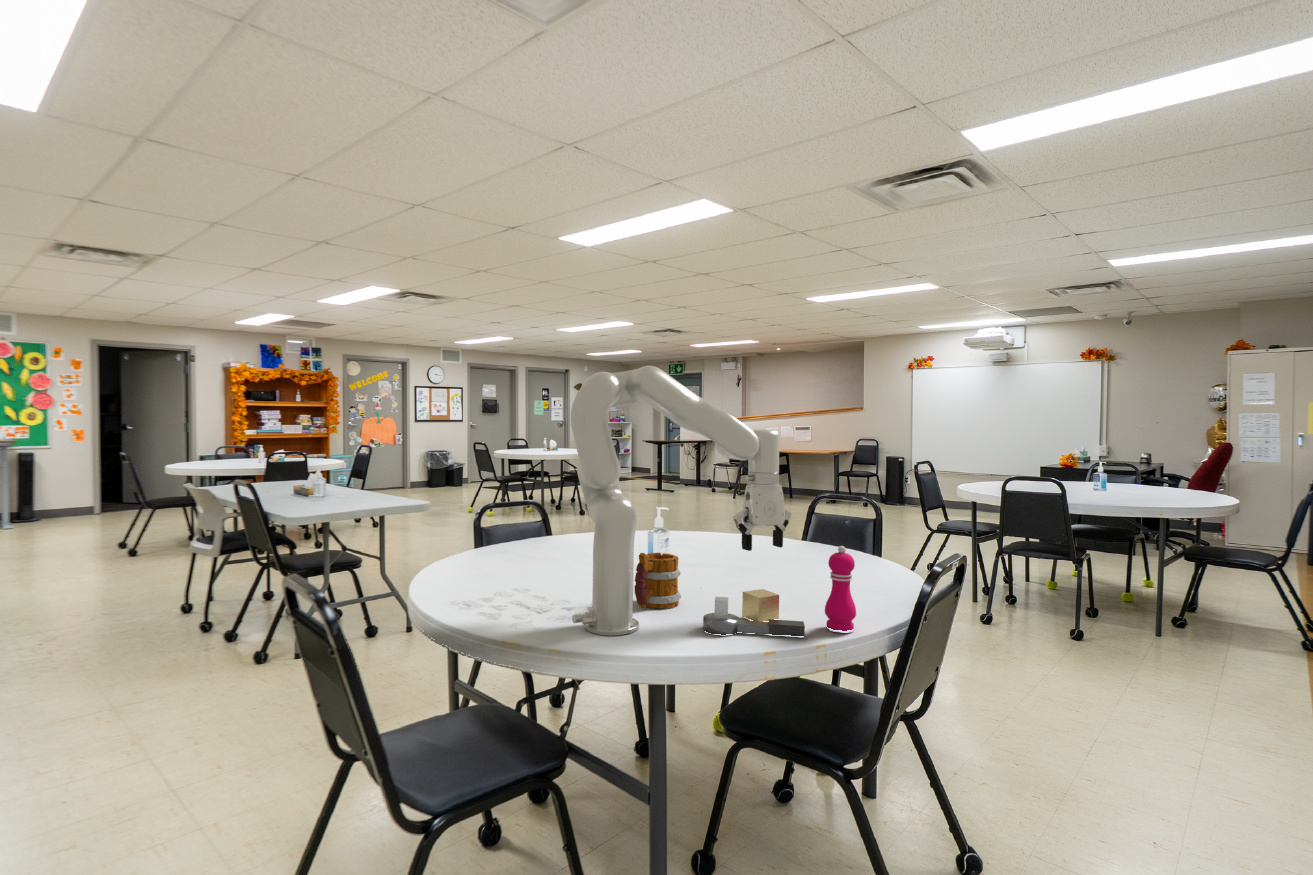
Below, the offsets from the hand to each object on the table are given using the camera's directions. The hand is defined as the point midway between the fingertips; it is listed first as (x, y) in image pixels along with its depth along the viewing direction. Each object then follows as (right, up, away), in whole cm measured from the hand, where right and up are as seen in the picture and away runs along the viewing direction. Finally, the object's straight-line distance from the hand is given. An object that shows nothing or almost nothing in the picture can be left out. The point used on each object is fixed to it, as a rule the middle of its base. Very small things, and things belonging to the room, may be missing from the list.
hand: (762, 548), depth 161 cm
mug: (-27, -17, +11) cm, 34 cm away
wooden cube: (0, -18, 0) cm, 18 cm away
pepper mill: (+17, -18, -7) cm, 26 cm away
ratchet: (-4, -18, -10) cm, 21 cm away
